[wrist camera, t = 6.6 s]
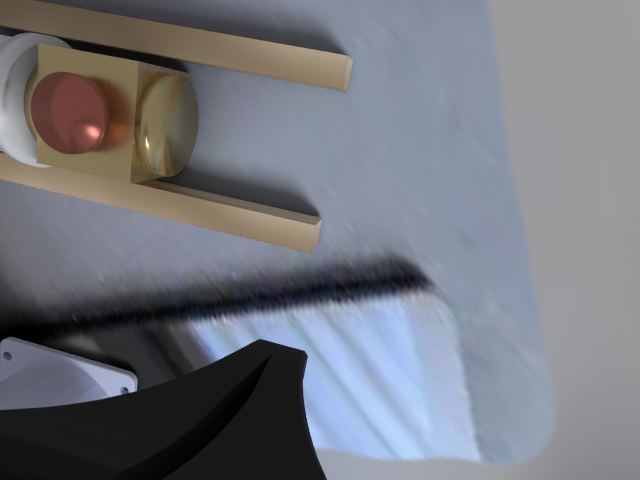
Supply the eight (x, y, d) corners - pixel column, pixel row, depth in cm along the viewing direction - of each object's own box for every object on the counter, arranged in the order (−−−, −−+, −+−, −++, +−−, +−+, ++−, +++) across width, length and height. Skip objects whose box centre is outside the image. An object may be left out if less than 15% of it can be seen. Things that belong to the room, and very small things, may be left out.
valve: (203, 76, 20) (138, 59, 15) (192, 176, 21) (128, 190, 16) (95, 56, 21) (1, 35, 16) (90, 154, 22) (1, 161, 17)
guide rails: (317, 244, 21) (310, 253, 19) (-12, 166, 23) (-41, 168, 22) (353, 61, 19) (347, 55, 17) (-12, -4, 21) (-45, -14, 20)
